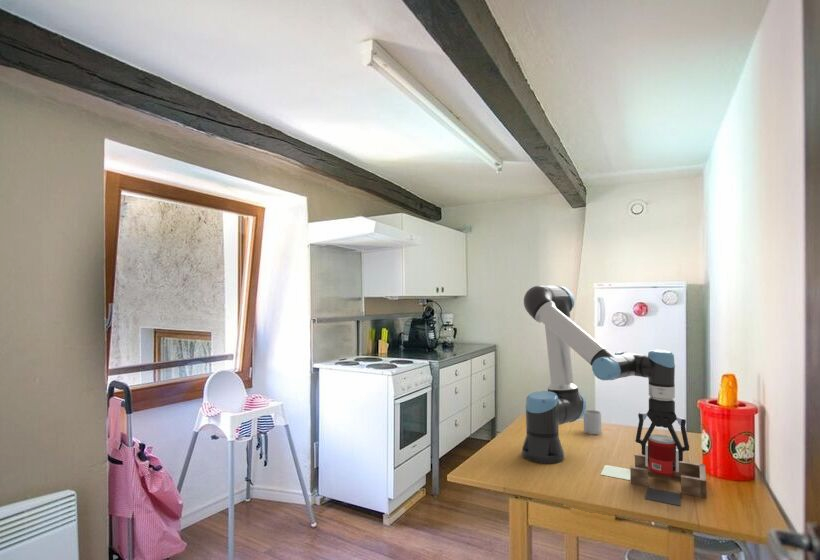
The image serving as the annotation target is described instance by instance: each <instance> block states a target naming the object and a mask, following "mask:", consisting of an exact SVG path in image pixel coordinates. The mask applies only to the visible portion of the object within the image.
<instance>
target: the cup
mask: <svg viewBox="0 0 820 560" xmlns="http://www.w3.org/2000/svg"><path fill="white" fill-rule="evenodd" d="M584 431H585V432H586V433H585V432H584ZM583 432H584V433H585V434H587V433H589V434H588V435H592V434H599V435H601V434H602V411H599V410H596V409H586V410H585V413H584V415H583Z"/></svg>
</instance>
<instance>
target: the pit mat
mask: <svg viewBox="0 0 820 560" xmlns="http://www.w3.org/2000/svg"><path fill="white" fill-rule="evenodd" d="M644 500H647V501H653V502H657V503H658V502H659V503H663V504H667V505H671V506H672V505H673V506H677V507H681V506H682V501H681V500H682V493H681V492H680V493H678V492H674V491H668V490H663V489H657V488H652V487H649V486H648V487H647V490H646V494H645V499H644Z"/></svg>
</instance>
